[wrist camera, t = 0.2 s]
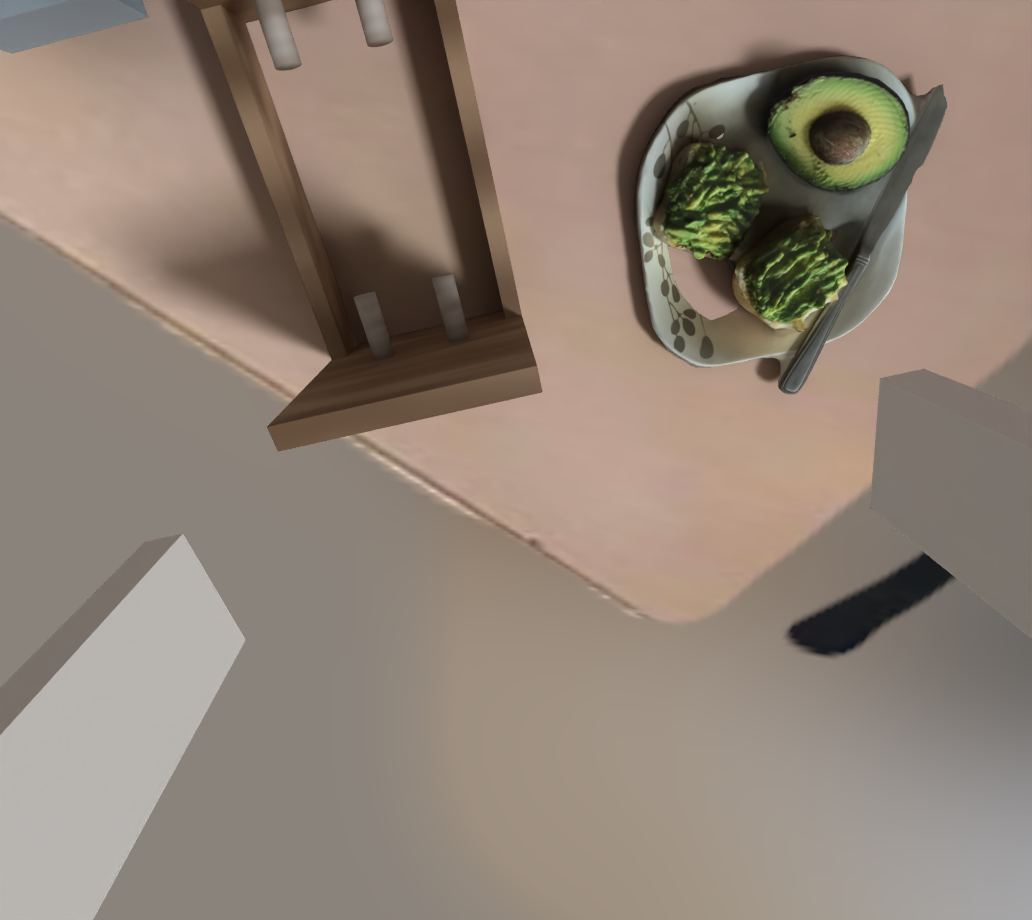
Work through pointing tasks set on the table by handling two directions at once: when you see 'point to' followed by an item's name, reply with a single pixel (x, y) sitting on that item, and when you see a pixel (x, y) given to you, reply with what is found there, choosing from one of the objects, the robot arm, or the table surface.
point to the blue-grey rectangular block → (60, 20)
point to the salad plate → (782, 206)
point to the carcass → (382, 360)
